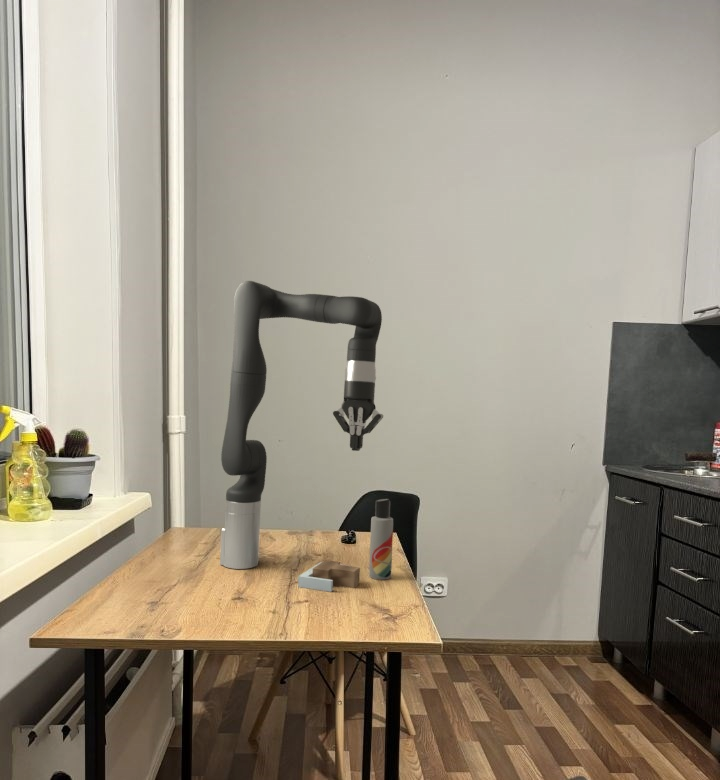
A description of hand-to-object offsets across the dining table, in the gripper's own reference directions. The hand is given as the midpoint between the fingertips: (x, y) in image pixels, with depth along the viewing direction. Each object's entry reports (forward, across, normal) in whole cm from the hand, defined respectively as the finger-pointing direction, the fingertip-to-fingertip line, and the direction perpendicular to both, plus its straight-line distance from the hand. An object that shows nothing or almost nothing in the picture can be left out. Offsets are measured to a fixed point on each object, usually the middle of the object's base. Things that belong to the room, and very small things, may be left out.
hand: (355, 450), depth 142 cm
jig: (+33, -7, 0) cm, 34 cm away
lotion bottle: (+33, +5, +9) cm, 35 cm away
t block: (+33, -3, 0) cm, 33 cm away
